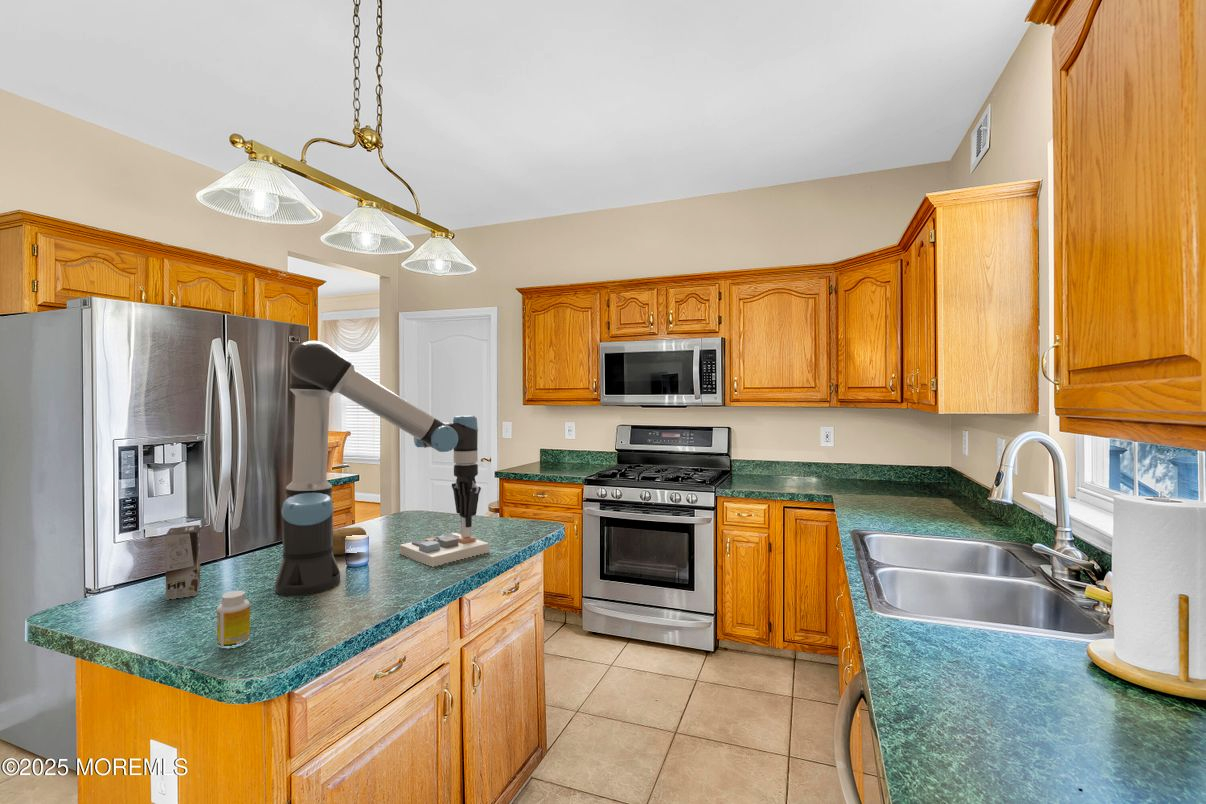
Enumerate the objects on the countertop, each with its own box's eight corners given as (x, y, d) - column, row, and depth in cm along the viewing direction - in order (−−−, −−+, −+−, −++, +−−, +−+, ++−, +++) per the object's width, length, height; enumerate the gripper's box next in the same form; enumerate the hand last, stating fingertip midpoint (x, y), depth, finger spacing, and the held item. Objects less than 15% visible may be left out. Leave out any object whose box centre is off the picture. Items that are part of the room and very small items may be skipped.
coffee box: (197, 596, 137) (197, 531, 136) (164, 601, 133) (164, 535, 133) (201, 585, 145) (200, 523, 144) (170, 589, 141) (169, 527, 141)
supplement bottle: (256, 640, 113) (256, 590, 113) (231, 652, 108) (231, 600, 107) (236, 636, 115) (235, 587, 114) (210, 648, 109) (209, 597, 109)
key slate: (426, 555, 164) (426, 545, 164) (419, 552, 167) (419, 543, 167) (439, 552, 167) (439, 542, 167) (432, 549, 170) (432, 540, 170)
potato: (317, 552, 174) (317, 527, 173) (365, 547, 180) (365, 523, 180) (316, 561, 165) (316, 535, 165) (367, 555, 171) (367, 530, 171)
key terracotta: (463, 549, 174) (463, 540, 174) (456, 546, 177) (456, 537, 177) (475, 546, 177) (475, 537, 177) (467, 544, 180) (467, 534, 180)
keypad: (432, 567, 160) (432, 553, 160) (399, 554, 172) (399, 541, 172) (488, 552, 175) (488, 539, 175) (454, 541, 187) (454, 529, 187)
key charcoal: (445, 551, 169) (445, 541, 169) (438, 548, 172) (438, 538, 172) (458, 548, 172) (458, 538, 172) (450, 545, 175) (450, 536, 175)
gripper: (487, 464, 175) (488, 537, 175) (464, 460, 184) (464, 530, 184) (467, 466, 169) (468, 542, 170) (444, 463, 178) (444, 535, 179)
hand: (466, 536), depth 177 cm, fingers closed
